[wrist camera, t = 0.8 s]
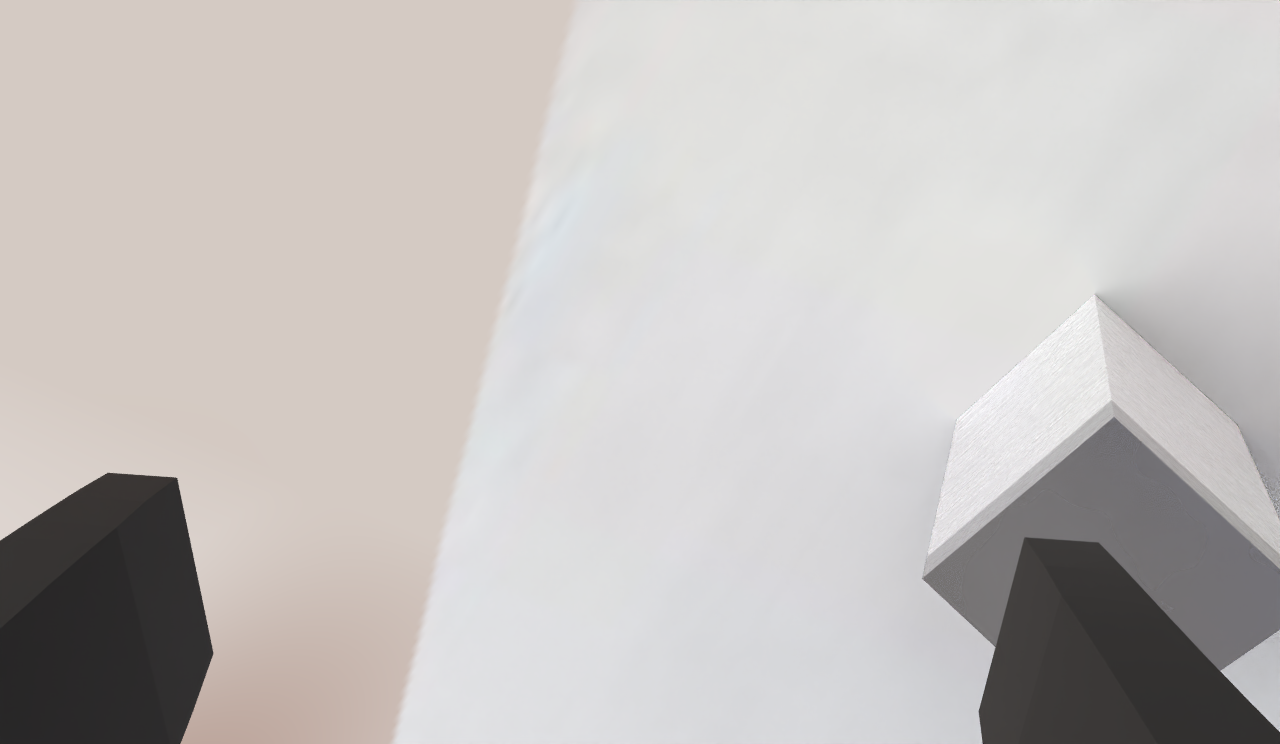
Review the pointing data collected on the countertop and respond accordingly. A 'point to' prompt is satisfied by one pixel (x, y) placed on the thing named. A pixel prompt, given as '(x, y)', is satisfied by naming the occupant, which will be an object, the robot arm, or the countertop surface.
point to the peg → (1110, 487)
